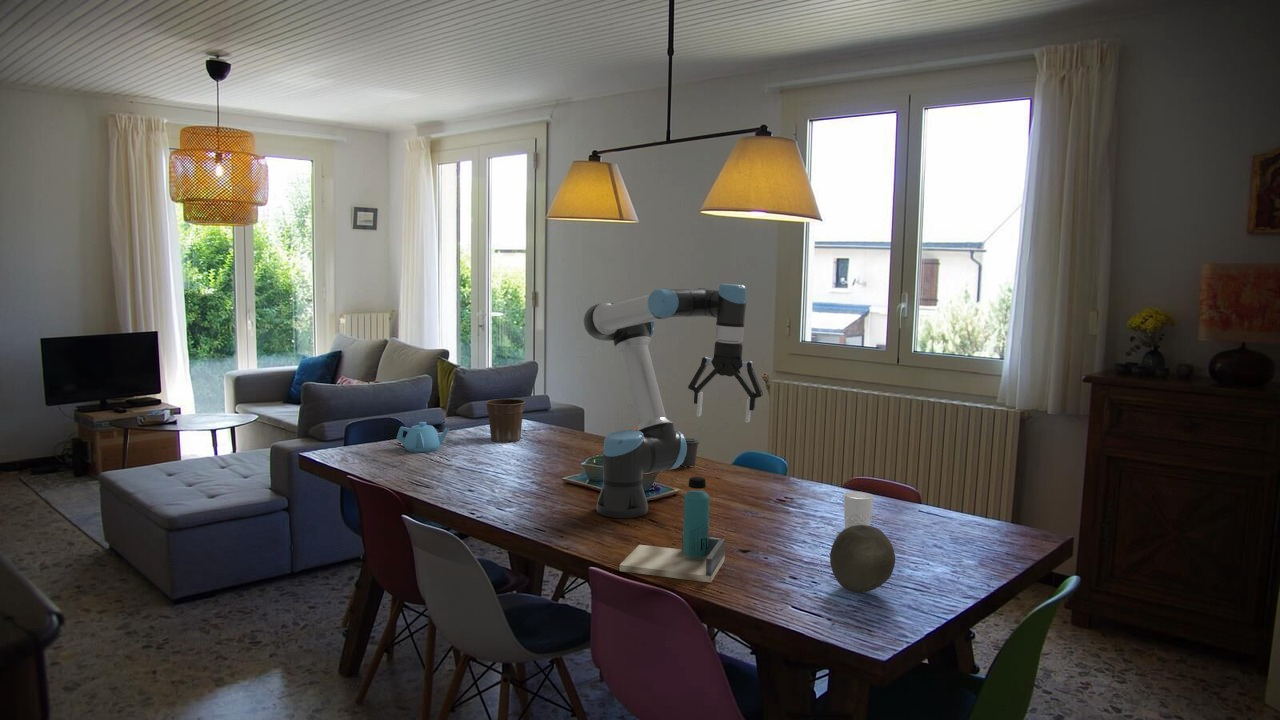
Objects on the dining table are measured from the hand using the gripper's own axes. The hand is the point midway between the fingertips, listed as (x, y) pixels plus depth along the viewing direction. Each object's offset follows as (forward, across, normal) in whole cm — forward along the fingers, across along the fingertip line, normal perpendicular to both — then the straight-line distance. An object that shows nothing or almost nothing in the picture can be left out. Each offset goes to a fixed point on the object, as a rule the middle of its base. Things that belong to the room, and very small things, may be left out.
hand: (722, 419), depth 232 cm
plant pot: (+36, +110, -86) cm, 145 cm away
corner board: (+31, +2, +33) cm, 45 cm away
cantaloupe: (+29, -42, +34) cm, 61 cm away
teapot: (+37, +130, -57) cm, 147 cm away
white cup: (+29, -37, -14) cm, 50 cm away
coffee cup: (+32, +28, -71) cm, 83 cm away
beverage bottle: (+29, -3, +31) cm, 43 cm away
